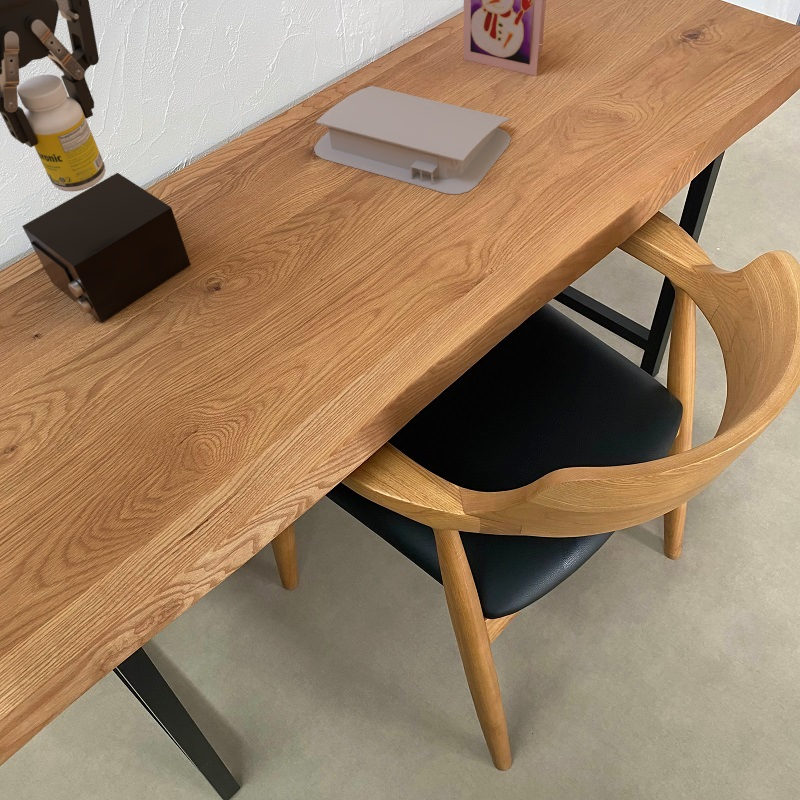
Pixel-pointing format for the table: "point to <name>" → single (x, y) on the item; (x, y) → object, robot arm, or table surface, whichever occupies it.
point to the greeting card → (504, 33)
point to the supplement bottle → (61, 134)
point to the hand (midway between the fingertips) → (57, 128)
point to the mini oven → (109, 246)
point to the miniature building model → (413, 139)
